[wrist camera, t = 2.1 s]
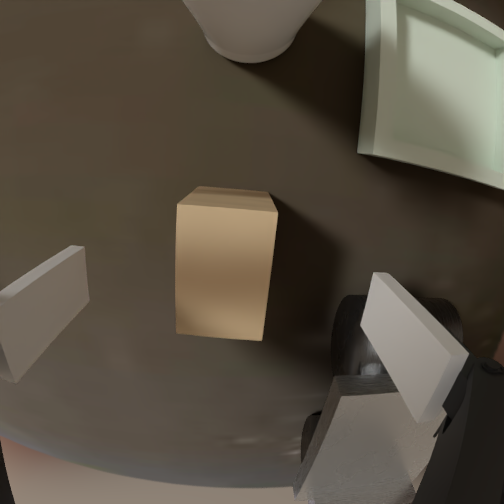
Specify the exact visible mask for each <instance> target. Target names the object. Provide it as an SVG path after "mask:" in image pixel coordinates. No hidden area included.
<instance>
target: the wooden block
mask: <svg viewBox="0 0 504 504" xmlns="http://www.w3.org/2000/svg"><path fill="white" fill-rule="evenodd" d="M277 218H278V211H277V209H276V207H275V205H274V203H273V201H272V199H271V197H270V195H269V193H268V192H263V191H252V190H241V189H229V188H217V187H203V186H199V187H197V188H196V189H195V190H194V191H192V192H191V193H190V194H189V195H188V196H186V197H185V198H184V199H183V200H182V201H180V202H179V203H178V204H177V221H176V266H175V300H176V333H179V334H188V335H197V336H207V337H218V338H229V339H242V340H256V341H262V336H263V329H264V321H265V314H266V306H267V299H268V291H269V283H270V275H271V267H272V259H273V251H274V243H275V235H276V227H277Z"/></svg>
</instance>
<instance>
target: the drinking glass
mask: <svg viewBox="0 0 504 504" xmlns="http://www.w3.org/2000/svg"><path fill="white" fill-rule="evenodd" d="M322 1H323V0H182V2H183V3H184V5H185V6H186V7H187V9H188V10H189V12H190V13H191V14H192V16H193V17H194V19H195V20H196V22H197V23H198V25H199V26H200V28H201V29H202V31H203V33H204V36H205V38H206V40H207V42H208V43H209V45H210V46H211V47H212V48H213V49H214V50H215V51H216V52H217V53H219V54H220V55H222V56H224V57H225V58H228V59H230V60H233V61H237V62H242V63H259V62H264V61H267V60H270V59H273V58H275V57H277V56H279V55H280V54H282V53H283V52H284V51H285V50H286V49H287V48H288V47H289V46H290V45H291V44H292V42H293V41H294V39H295V37H296V35H297V33H298V31H299V30H300V28H301V27H302V26H303V25H304V23H305V22H306V21H307V19H308V18H309V17H310V16H311V14H312V13H313V12H314V11H315V10H316V8H317V7H318V6H319V5H320V3H321V2H322Z"/></svg>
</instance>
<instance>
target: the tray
mask: <svg viewBox="0 0 504 504" xmlns="http://www.w3.org/2000/svg"><path fill="white" fill-rule="evenodd" d="M357 153H360V154H365V155H370V156H375V157H380V158H385V159H390V160H395V161H399V162H403V163H408V164H412V165H416V166H420V167H424V168H428V169H432V170H436V171H440V172H444V173H447V174H451V175H455V176H458V177H462V178H465V179H468V180H472V181H475V182H478V183H481V184H485V185H488V186H491V187H494V188H497V189H501V190H504V30H502V29H501V28H499V27H498V26H496V25H494V24H493V23H491V22H490V21H488V20H487V19H485V18H483V17H482V16H480V15H478V14H476V13H475V12H473V11H471V10H469V9H468V8H466V7H464V6H462V5H460V4H458V3H457V2H455V1H453V0H366V38H365V64H364V81H363V96H362V108H361V119H360V129H359V139H358V148H357Z"/></svg>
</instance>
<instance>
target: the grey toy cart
mask: <svg viewBox="0 0 504 504" xmlns="http://www.w3.org/2000/svg"><path fill="white" fill-rule="evenodd" d="M367 297H368V296H364V295H347V296H346V297H345V298H344V299H343V300H342V301H341V303H340V305H339V307H338V309H337V312H336V316H335V319H334V324H333V330H332V338H331V364H332V371H333V376H334V378H333V381H332V384H331V387H330V390H329V393H328V396H327V399H326V402H325V405H324V408H323V411H322V413H321V415H310V416H308V418H307V419H306V421H305V424H304V428H303V432H302V440H301V464H302V465H301V467H300V469H299V472H298V474H297V476H296V479H295V481H294V483H293V491H294V499H295V501H304V500H308V504H412V502H413V499H414V497H415V495H416V492H415V490H414V487H413V485H412V481H413V480H414V479H415V478H416V477H417V476H418V474H419V473H420V472H421V471H422V470H423V468H424V467H425V466H426V465H427V464H428V462H429V460H430V457H431V455H432V452H433V449H434V446H435V443H436V440H437V437H438V435H437V436H436V437H435V438H434V437H433V435H434V434H435V432H436V431H437V429H438V428H439V426H440V424H441V423H442V421H443V420H444V418H445V416H446V415H447V413H446V411H445V410H444V408H443V407H442V408H441V410H440V411H439V413H438V415H437V417H436V418H435V420H432V421H427V422H422V423H416V421H415V420H414V418H413V416H412V414H411V412H410V410H409V409H408V407H407V405H406V403H405V401H404V400H403V398H402V396H401V394H400V392H399V391H398V389H397V387H396V385H395V384H394V382H393V380H392V378H391V377H390V375H389V373H388V371H387V370H386V368H385V366H384V364H383V363H382V361H381V359H380V358H379V356H378V354H377V352H376V351H375V349H374V347H373V346H372V344H371V342H370V341H369V339H368V337H367V336H366V334H365V332H364V331H363V329H362V327H361V326H360V324H361V321H362V317H363V313H364V309H365V305H366V301H367ZM415 299H416V300H417V301H418V302H419V303H420V304H421V305H422V306H423V307H424V308H425V309H426V310H427V311H428V312H429V313H430V314H431V315H432V316H433V317H434V318H435V319H436V320H437V321H438V322H439V323H441V324H442V325H444V326H446V327H447V328H448V329H449V330H450V331H451V332H452V333H453V334H454V336H456V337H457V338H458V339H459V340H460V342H462V343H463V329H462V323H461V319H460V317H459V314H458V312H457V310H456V309H455V307H454V306H453V305H452V304H451V303H450V302H449V301H448V300H446V299H442V298H415Z"/></svg>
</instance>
